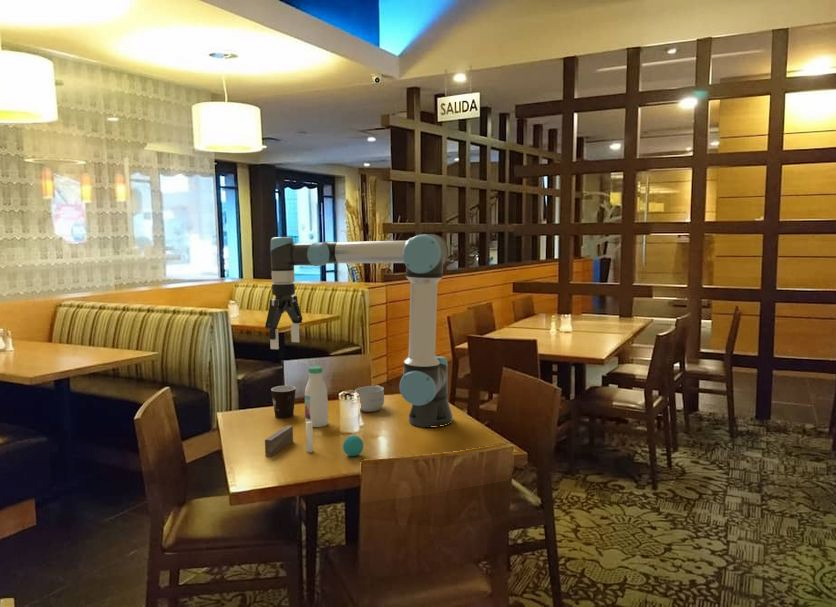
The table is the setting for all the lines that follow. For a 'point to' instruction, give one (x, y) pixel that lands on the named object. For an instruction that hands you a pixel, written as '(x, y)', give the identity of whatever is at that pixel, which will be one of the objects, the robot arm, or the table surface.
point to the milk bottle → (316, 398)
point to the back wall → (278, 441)
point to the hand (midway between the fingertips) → (285, 345)
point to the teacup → (371, 398)
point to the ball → (353, 445)
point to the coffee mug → (283, 401)
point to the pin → (309, 437)
